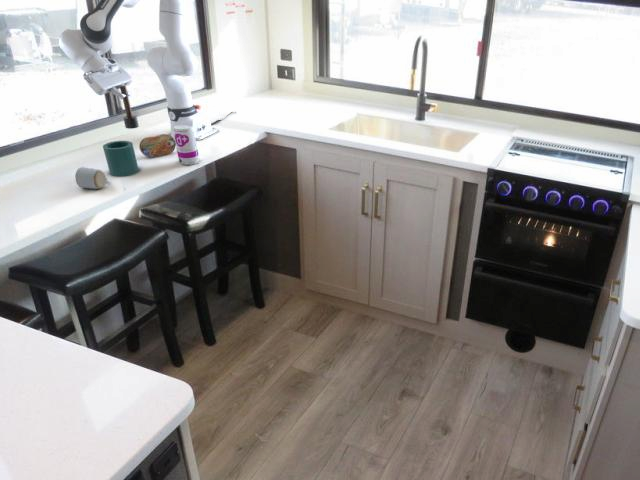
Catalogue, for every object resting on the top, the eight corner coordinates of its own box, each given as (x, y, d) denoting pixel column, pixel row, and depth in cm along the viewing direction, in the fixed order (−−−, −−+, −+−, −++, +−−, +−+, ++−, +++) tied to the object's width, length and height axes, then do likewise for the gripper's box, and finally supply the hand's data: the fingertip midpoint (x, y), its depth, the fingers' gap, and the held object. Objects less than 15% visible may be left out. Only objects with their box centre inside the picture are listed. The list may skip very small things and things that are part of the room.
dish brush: (133, 124, 236) (123, 83, 227) (141, 126, 234) (132, 85, 225) (122, 127, 232) (112, 86, 224) (131, 129, 230) (121, 87, 222)
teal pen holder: (126, 165, 240) (120, 139, 234) (144, 169, 236) (138, 143, 230) (104, 173, 232) (96, 146, 226) (122, 178, 228) (115, 150, 222)
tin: (143, 159, 246) (139, 140, 242) (140, 157, 248) (136, 138, 244) (177, 152, 255) (173, 133, 250) (174, 150, 257) (170, 131, 252)
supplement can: (193, 166, 240) (187, 130, 232) (175, 164, 241) (168, 128, 233) (203, 159, 247) (196, 124, 239) (185, 158, 248) (178, 123, 240)
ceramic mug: (98, 192, 215) (93, 172, 211) (78, 190, 216) (72, 170, 212) (114, 182, 224) (109, 163, 220) (94, 180, 225) (89, 161, 221)
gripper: (83, 68, 213) (114, 97, 216) (117, 58, 230) (144, 85, 233) (76, 80, 216) (106, 108, 220) (109, 69, 233) (137, 96, 237)
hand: (126, 96), depth 227 cm, fingers closed on dish brush, 2 cm apart
